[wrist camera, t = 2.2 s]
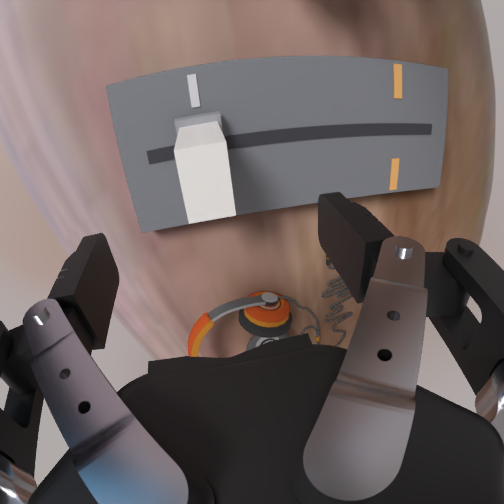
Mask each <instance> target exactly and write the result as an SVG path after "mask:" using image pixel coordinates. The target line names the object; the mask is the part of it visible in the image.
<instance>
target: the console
mask: <svg viewBox="0 0 504 504" xmlns="http://www.w3.org/2000/svg"><path fill="white" fill-rule="evenodd" d="M106 90H107V95H108V101H109V106H110V111H111V116H112V120H113V125H114V130H115V134H116V139H117V143H118V147H119V152H120V156H121V160H122V164H123V168H124V172H125V176H126V179H127V183H128V187H129V191H130V194H131V198H132V201H133V205H134V208H135V212H136V215H137V219H138V222H139V225H140V229H141V232H142V233H145V232H150V231H155V230H160V229H165V228H170V227H175V226H181V225H186V224H189V222H188V218H187V213H186V208H185V204H184V199H183V194H182V190H181V185H180V180H179V175H178V170H177V165H176V160H175V155H174V147H175V143H176V139H177V134H176V128H175V123H174V121H175V119H176V118H181V117H186V116H192V115H198V114H204V113H210V112H216V111H219V112H220V115H221V123H222V130H223V135H224V138H225V140H226V144H227V152H228V159H229V167H230V174H231V181H232V189H233V196H234V203H235V211H236V216H237V215H243V214H248V213H255V212H261V211H267V210H273V209H279V208H286V207H292V206H299V205H305V204H312V203H318V198H319V195H320V194H325V193H332V192H341V193H342V194H343V195H344V196H345V197H346V198H354V197H362V196H369V195H377V194H385V193H393V192H401V191H410V190H418V189H427V188H436V187H439V185H440V178H441V171H442V164H443V155H444V146H445V136H446V123H447V106H448V68H442V67H437V66H431V65H425V64H419V63H412V62H405V61H397V60H388V59H377V58H365V57H347V56H282V57H265V58H252V59H241V60H232V61H223V62H215V63H208V64H202V65H195V66H189V67H184V68H178V69H173V70H168V71H163V72H158V73H154V74H149V75H145V76H141V77H137V78H133V79H129V80H125V81H121V82H118V83H114V84H111V85H107V86H106ZM213 220H214V219H213ZM202 222H203V221H202ZM191 224H192V223H191Z"/></svg>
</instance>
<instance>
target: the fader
mask: <svg viewBox="0 0 504 504" xmlns="http://www.w3.org/2000/svg"><path fill="white" fill-rule="evenodd" d="M174 123H175V128H176V134H177V139H176V143H175V147H174V155H175V160H176V165H177V170H178V175H179V180H180V185H181V190H182V194H183V199H184V204H185V208H186V213H187V218H188V222H189V224H191V223H197V222H202V221H208V220H213V219H219V218H225V217H231V216H236V211H235V203H234V196H233V189H232V181H231V174H230V167H229V159H228V152H227V144H226V140H225V138H224V135H223V130H222V123H221V115H220V112H219V111H216V112H210V113H204V114H198V115H192V116H186V117H181V118H176V119H175V121H174Z"/></svg>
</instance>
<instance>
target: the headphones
mask: <svg viewBox="0 0 504 504" xmlns="http://www.w3.org/2000/svg"><path fill="white" fill-rule="evenodd" d="M326 265H327V267H328V268H329V269H334V268H335V267H334V266H333V267H330V266H329V265H330V259H329V258H328V256H327V255H326ZM339 279H341V276H340V277H338V278H336V279H334V280H331V281H329V282H328V286H329V287H332V286H335V285H337V286H335V287H333V288H331V289H328V290H326V291H324V292H323V293H322V297H323V298H324V297H328V296H331V295H333V294H335V293H337V292H339V291H340V292H339V293H338V294H337V297H343V296H346V295H348V294H351V292H348V293H346V294H343V295H339V294H341V293H343V292H345V291H348V290H349V289H348V288H347V286H345V287H343V288H341V289H339V290H337V291H335V292H333V293H330V294H328V295H324V294H325V293H326V292H329V291H331V290H334V289H336V288H338V287H340V286H342V285H344V284H345V283H344V281H343V280H342V281H340V282H337V283H334V284H331V285H330V283H332V282H334V281H337V280H339ZM342 282H343V283H342ZM340 283H342V284H340ZM338 284H339V285H338ZM346 288H347V289H346ZM344 289H345V290H344ZM351 297H352V294H351V296H349V297H347V298H345V299H344V300H341V301H339V302H337V303H334V304H332V305H331V306H330V309H331V310H333V309H336V308H339V307H342V308H341V309H340V310H337V311H335V312H333V313H331V314H329V315H327V316H326V317H325V319H324V320H325V322H331V321H334V320H336V319H339V318H341V317H343V316H346V315H348V314H350V315H348V316H347V317H345V318H343V319H341V320H340V321H338V322H337V323H335V324H334V326H333V328H332V329H333V331H334V332H342V333H344V336H343V338H342V340H341V341H340V342H339V343H338V344H337V345H335V346H336V347H337V346H338V345H339V344H340V343H341V342H342V341H343V340H344V338H345V336H346V332H345V331H338V330H334V327H335V326H336V325H337V324H338V323H340V322H341V321H343V320H345V319H347V318H348V317H350V316H351V315H352V314H353V313H352V312H348V313H346V314H343V315H341V316H339V317H336V318H334V319H331V320H326V319H327V318H328V317H329V316H331V315H333V314H335V313H338V312H340V311H342V310H343V305H339V306H336V307H333V306H335V305H337V304H339V303H342V302H344V301H346V300H348V299H350V298H351ZM286 299H288V300H291V301H292V302H294V303H295V304H296V306H297V307H299V308H301V309H305V310H307V311H309V312H310V313H311V314H312V315H313V317H314V318H315V320H316V323H317V329H316V328H315V327H314V326H308V327H306V328H304V329H303V331H302V332H301V334H300V335H302V334H303V333H304V331H305V330H306V329H308V328H313V329H315V331H316V334H317V336H316V341H317V344H319V340H320V336H319V323H318V320H317V318H316V316H315V315H314V313H313V312H312V311H311V310H310V309H308V308H305V307H302V306H299V305H298V303H297V302H296V301H295V300H293V299H292V298H289V297H286V296H281V295H278V294H276V293H274V292H269V291H260V292H256V293H253V294H251V295H250V296H249V297H247V298H243V299H239V300H235V301H231V302H228V303H225V304H223V305H220V306H219V307H217V308H215V309H213V310H212V311H211V312H209V313H204V314H203V315H202V316H201V317H200V318H199V319H198V320H197V322H196V323H195V324H194V326H193V328H192V330H191V332H190V335H189V338H188V355H189V356H190V357H199V356H198V351H199V346H200V343H201V341H202V339H203V337H204V336H205V334H206V333H207V332H208V331H209V329H210V328H211V327H212V326H213V325H214V321H216V320H217V319H219V318H220V317H222V316H224V315H226V314H228V313H230V312H233V311H237V310H240V311H239V322H240V324H241V326H242V327H243V328H244V329H245V330H246V331H248V332H249V333H251V334H253V335H254V336H253V337H252V338H251V339H250V341H249V343H248V344H247V348H246V351H248V350H250V349H253V348H255V347H257V346H260V345H262V344H265V343H267V342H270V341H274V340H279V339H284V338H288V337H290V335H289V334H288V333H287V331H288V330H289V329H290V325H291V322H292V314H291V312H290V306H289V304H288V302H287V300H286ZM332 307H333V308H332Z"/></svg>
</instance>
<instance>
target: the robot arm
mask: <svg viewBox="0 0 504 504" xmlns="http://www.w3.org/2000/svg"><path fill="white" fill-rule="evenodd" d="M318 236H319V241H320V244H321V247H322V249H323V250H324V252H325V253H326V255H327V256H328V258H329V259H330V261H331V262H332V264H333V266H334V267H335V269H336V270H337V272H338V273H339V275H340V276H341V278H342V280H343V281H344V283H345V284H346V286H347V288H348V289H349V291H350V292H351V294H352V296H353V297H354V299H355V300H356V302H357V304H358V303H362V302H363V305H362V309H361V312H360V315H359V318H358V321H357V324H356V327H355V330H354V333H353V336H352V338H351V341H350V344H349V347H348V350H347V349H344V348H340V347H336V346H330V345H320V344H312V342H311V340H310V337H309V335H308V333H306V334H302V335H297V336H293V337H288V338H284V339H279V340H274V341H270V342H267V343H265V344H262V345H260V346H257V347H255V348H253V349H250V350H248V351H245V352H243V353H241V354H238V355H236V356H233V357H230V358H209V357H190V356H185V357H178V358H171V359H163V360H155V361H149V362H148V374H145V375H143V376H141V377H139V378H136V379H135V380H133V381H131V382H129V383H128V384H127V385H125V386H124V387H123V388H121V389H120V390H119V391H118V392H116V390H115V389H114V388H113V387H112V385H111V384H110V383H109V381H108V380H107V378H106V377H105V375H104V374H103V373H102V371H101V370H100V368H99V367H98V365H97V364H96V363H95V361H94V360H93V358H92V357H91V352H92V350H96V349H104V348H105V343H106V338H107V333H108V328H109V324H110V319H111V315H112V310H113V306H114V302H115V298H116V294H117V289H118V286H119V273H118V269H117V266H116V263H115V261H114V258H113V255H112V253H111V250H110V248H109V245H108V242H107V239H106V237H105V235H104V234H103V233H99V234H94V235H90V236H85V237H83V239H82V241H81V242H80V244H79V246H78V248H77V250H76V252H74V253H73V254H72V255H71V256H70V257H69V258H68V259H67V260H66V261H65V263H64V265H63V267H62V269H61V271H60V273H59V275H58V279H56V281H55V283H54V285H53V287H52V290H51V292H50V294H49V296H48V298H47V299H45V300H41V301H39V302H37V303H36V304H34V305H33V306H32V307H31V308H30V309H29V310H28V311H27V312H26V314H25V316H24V318H23V325H21V326H19V327H16V328H14V329H11V330H9V331H8V329H7V328H6V327H5V325H4V324H3V322H2V321H0V377H1V378H2V379H3V380H4V381H5V382H6V384H7V385H8V386H9V391H8V395H7V399H6V404H5V408H4V411H3V410H2V409H1V408H0V504H504V271H503V270H502V269H501V267H499V265H497V263H496V262H495V261H494V260H493V259H492V258H491V257H490V256H489V255H487V253H485V251H483V250H482V249H481V248H480V247H479V246H478V245H477V244H475V243H474V242H472V241H469V240H467V239H463V238H453V239H450V240H449V241H448V242H447V244H446V248H445V252H425V249H424V247H423V246H422V245H421V244H420V243H419V242H417V241H416V240H413V239H411V238H408V237H403V236H394V235H393V234H392V233H391V232H390V231H389V230H388V229H387V228H386V227H385V226H384V225H383V224H382V223H381V222H380V221H378V219H377V218H376V217H375V216H373V215H372V213H371V212H369V211H368V210H367V209H366V208H365V207H363V206H361V205H359V204H357V203H355V202H353V203H351V202H350V201H349V200H348V199H347V198H346V197H345V196H344V195H343V194H342V193H341V192H332V193H325V194H320V195H319V198H318ZM470 296H471V297H472V298H473V299H474V301H475V302H476V303H477V304H478V305H479V307H480V309H481V312H482V321H481V324H480V323H479V322H478V320H477V319H476V318H475V316H474V315H473V314H472V312H471V311H470V310H469V308H468V307H467V306H466V305H467V302H468V300H469V297H470ZM426 317H429V319H430V320H431V322H432V323H433V325H434V326H435V328H436V329H437V331H438V332H439V334H440V336H441V337H442V339H443V340H444V342H445V344H446V345H447V347H448V348H449V350H450V352H451V353H452V355H453V357H454V358H455V360H456V362H457V363H458V365H459V367H460V368H461V370H462V372H463V374H464V375H465V377H466V379H467V381H468V382H469V384H470V386H471V387H472V389H473V391H474V393H475V395H476V400H475V407H476V412H477V413H474V412H472V411H470V410H468V409H466V408H464V407H461V406H460V405H457V404H455V403H453V402H451V401H449V400H447V399H445V398H443V397H441V396H439V395H437V394H435V393H433V392H430V391H429V390H427V389H424V388H423V387H421V386H419V385H417V379H418V373H419V367H420V360H421V354H422V346H423V338H424V329H425V320H426ZM44 398H45V401H46V403H47V405H48V407H49V409H50V411H51V414H52V416H53V418H54V419H55V422H56V424H57V426H58V428H59V430H60V432H61V433H62V436H63V437H64V439H65V441H66V443H67V445H68V447H69V450H68V451H67V452H66V453H65V454H64V456H63V457H62V458H61V459H60V460H59V462H58V463H57V464H56V465H55V467H54V468H53V469H52V470H51V471H50V473H49V474H48V475H47V476H46V477H45V479H44V480H43V481H42V482H41V483H40V485H39V486H38V487H37V484H36V482H35V480H34V470H35V459H36V448H37V440H38V432H39V425H40V417H41V412H42V406H43V400H44Z"/></svg>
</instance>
